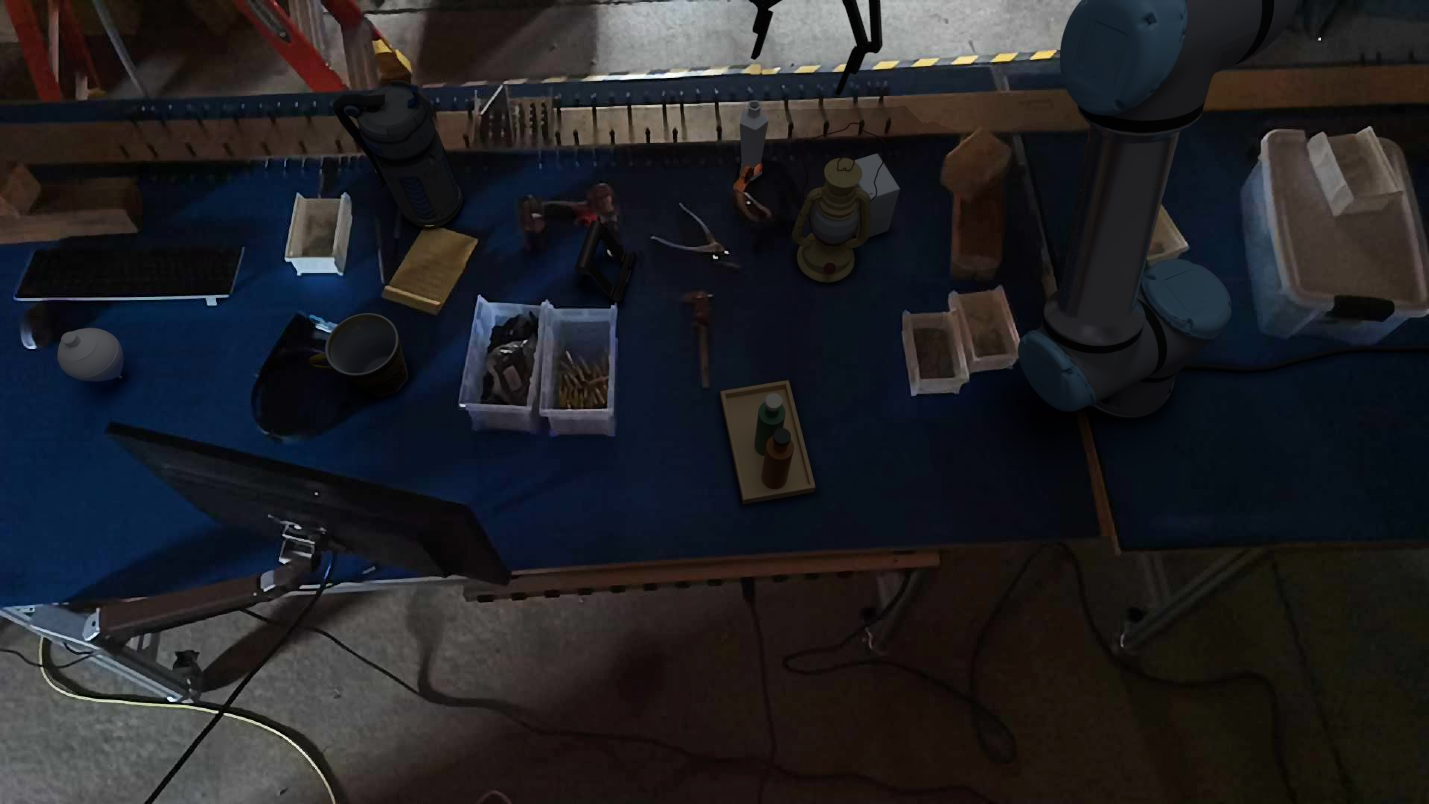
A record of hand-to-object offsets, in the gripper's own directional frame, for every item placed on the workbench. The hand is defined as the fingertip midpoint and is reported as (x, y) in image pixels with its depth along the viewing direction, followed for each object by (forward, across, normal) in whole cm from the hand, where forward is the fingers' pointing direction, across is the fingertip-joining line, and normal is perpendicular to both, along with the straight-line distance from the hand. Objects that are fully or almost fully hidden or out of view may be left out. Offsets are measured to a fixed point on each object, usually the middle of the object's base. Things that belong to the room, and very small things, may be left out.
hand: (796, 74), depth 128 cm
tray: (+38, -18, +36) cm, 55 cm away
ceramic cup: (+50, +38, +45) cm, 77 cm away
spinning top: (+60, +73, +56) cm, 110 cm away
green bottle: (+38, -18, +36) cm, 55 cm away
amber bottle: (+39, -21, +40) cm, 60 cm away
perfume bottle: (+20, +3, -6) cm, 21 cm away
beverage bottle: (+38, +48, +17) cm, 63 cm away
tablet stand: (+34, +16, +19) cm, 42 cm away
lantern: (+24, -15, +5) cm, 29 cm away
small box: (+19, -18, -4) cm, 26 cm away
